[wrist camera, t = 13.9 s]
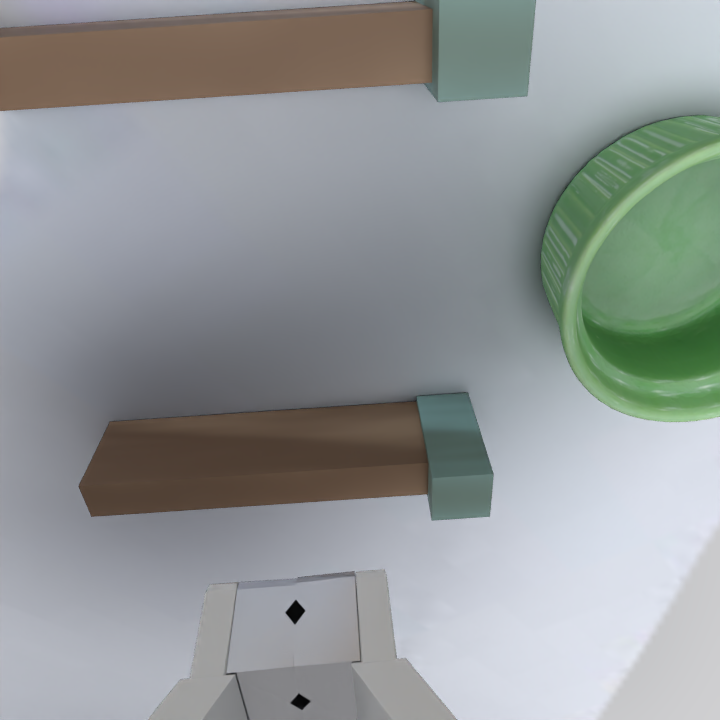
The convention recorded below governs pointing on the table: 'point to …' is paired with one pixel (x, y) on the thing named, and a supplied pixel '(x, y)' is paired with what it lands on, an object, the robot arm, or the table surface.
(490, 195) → the table surface
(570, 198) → the ramekin
